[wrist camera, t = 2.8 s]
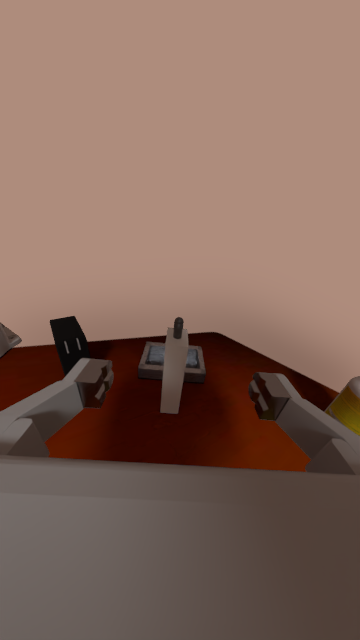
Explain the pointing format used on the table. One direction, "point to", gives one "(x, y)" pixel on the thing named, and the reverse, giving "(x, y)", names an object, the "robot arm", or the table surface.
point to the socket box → (154, 363)
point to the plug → (174, 367)
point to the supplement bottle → (347, 406)
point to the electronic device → (69, 342)
